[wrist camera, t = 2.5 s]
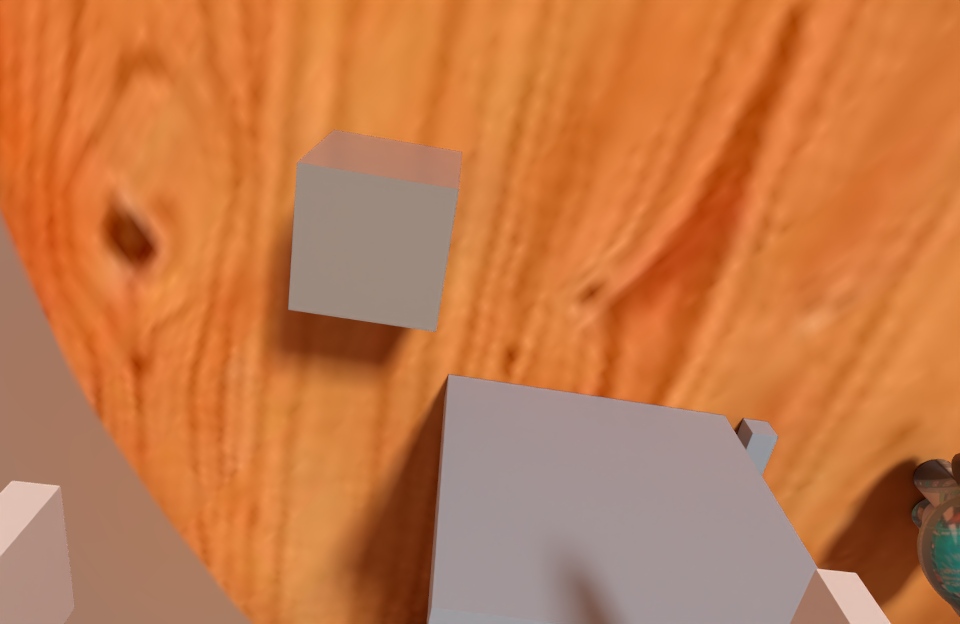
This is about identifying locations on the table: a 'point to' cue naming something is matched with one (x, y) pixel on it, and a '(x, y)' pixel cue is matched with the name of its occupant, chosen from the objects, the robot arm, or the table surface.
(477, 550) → the hatch frame
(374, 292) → the plain grey cube
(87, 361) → the table surface
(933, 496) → the figurine
